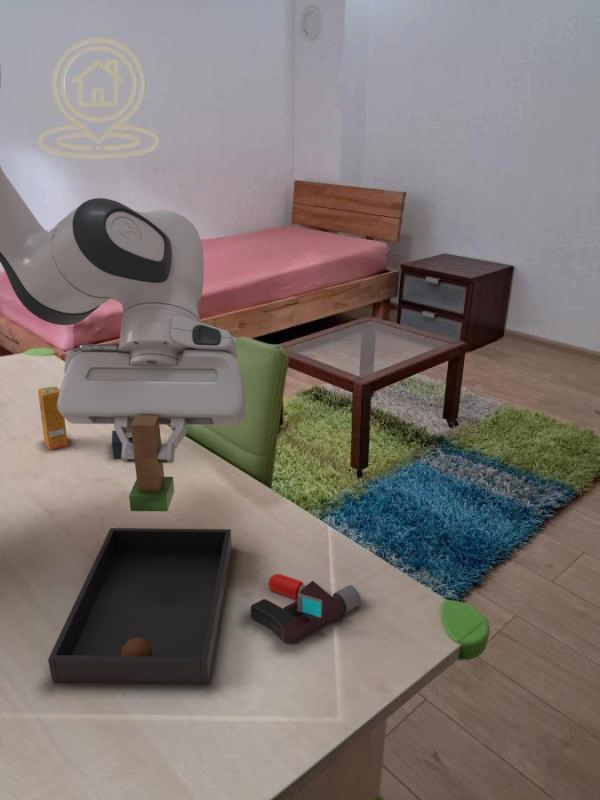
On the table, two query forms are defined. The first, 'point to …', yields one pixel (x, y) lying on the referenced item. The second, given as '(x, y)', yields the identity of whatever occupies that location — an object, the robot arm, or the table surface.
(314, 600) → the toy gun
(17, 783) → the table surface
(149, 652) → the brown wooden ball
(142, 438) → the wooden post on base
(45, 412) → the supplement box
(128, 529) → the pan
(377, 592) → the table surface
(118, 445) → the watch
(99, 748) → the table surface
